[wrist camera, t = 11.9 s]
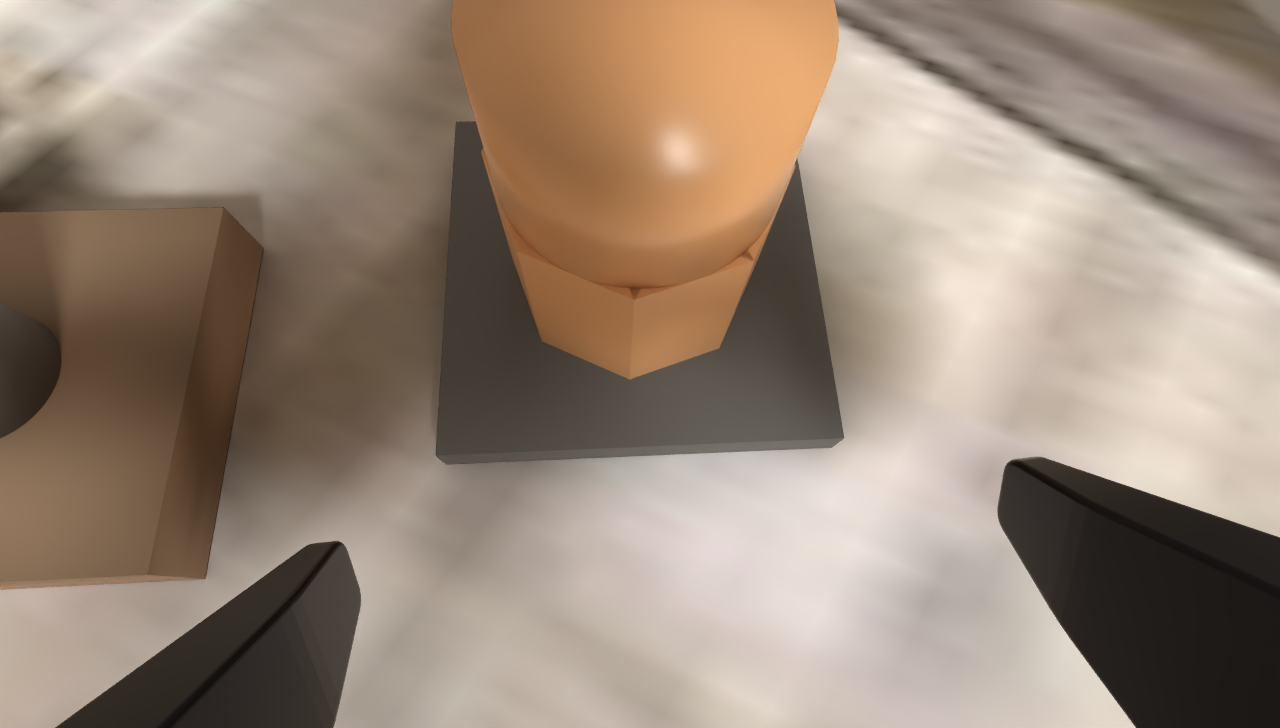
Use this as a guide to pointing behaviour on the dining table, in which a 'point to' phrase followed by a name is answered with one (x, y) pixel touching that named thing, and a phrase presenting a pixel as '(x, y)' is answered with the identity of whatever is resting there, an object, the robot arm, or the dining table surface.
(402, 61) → the dining table surface
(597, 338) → the orange rounded bulb shape
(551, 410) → the mat
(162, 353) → the post stand
